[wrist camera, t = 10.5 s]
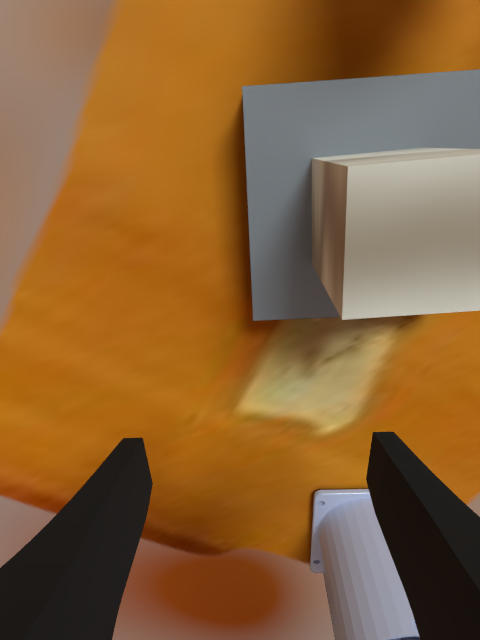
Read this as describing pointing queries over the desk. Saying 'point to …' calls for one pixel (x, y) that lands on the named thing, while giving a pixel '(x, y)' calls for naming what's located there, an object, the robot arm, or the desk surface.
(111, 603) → the robot arm
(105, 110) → the desk surface
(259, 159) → the base block
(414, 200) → the cream block
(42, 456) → the desk surface
